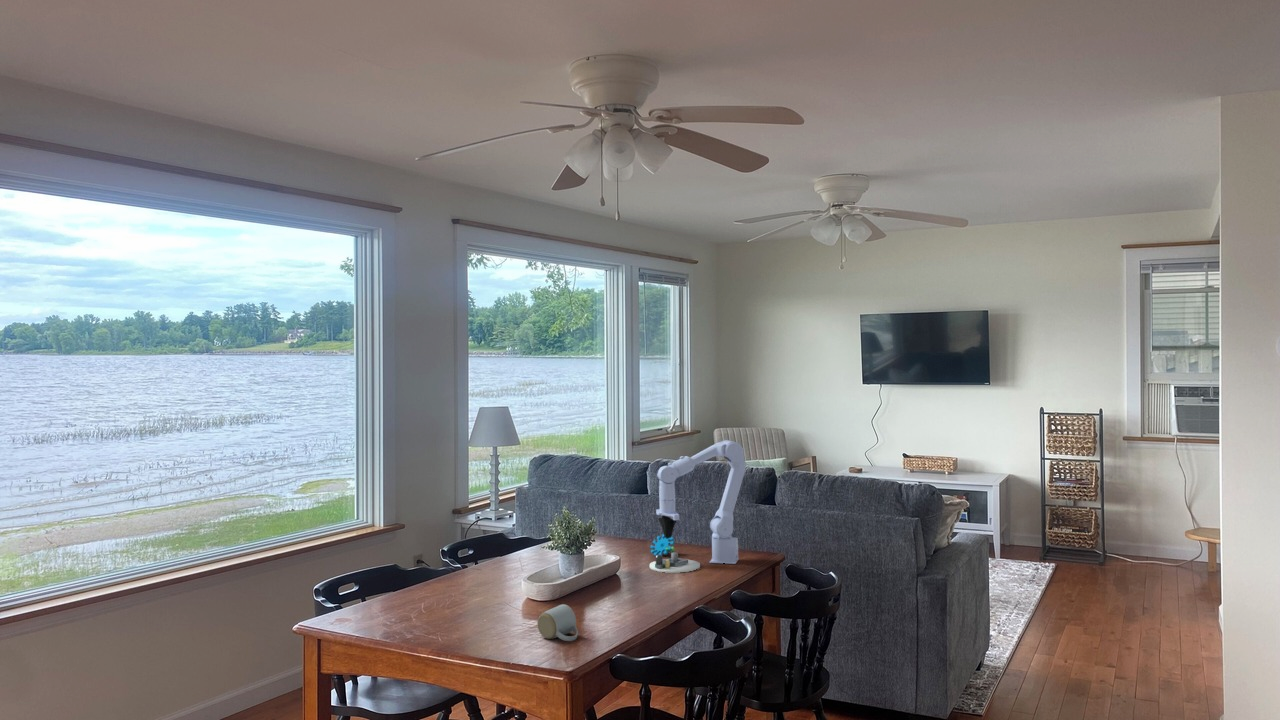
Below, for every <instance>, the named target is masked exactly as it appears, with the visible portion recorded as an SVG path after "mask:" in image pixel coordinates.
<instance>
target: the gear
mask: <svg viewBox="0 0 1280 720" xmlns="http://www.w3.org/2000/svg"><path fill="white" fill-rule="evenodd" d="M656 539H657V540H655V539H654V540H653V541H652V543H653V544H650V553H651V554H652V555H654V557H656V555H662V556H663V554H664V555H665V556H666V555H668V553H669V554H671V553H674V552H675V551H676V548H675V547H674V545H675V542H674V541H675V540H674V539H675V538H674V537H673V536H671V538H665V537H664V533H663V534H662V535H658V536H657V537H656ZM670 545H671V546H670Z"/></svg>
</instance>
